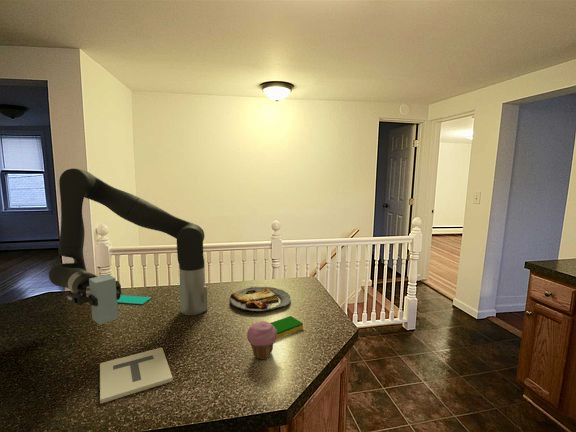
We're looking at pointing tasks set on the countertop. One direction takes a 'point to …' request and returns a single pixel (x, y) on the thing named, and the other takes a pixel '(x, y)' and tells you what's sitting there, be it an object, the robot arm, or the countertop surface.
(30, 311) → the countertop surface
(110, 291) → the grey rectangular block
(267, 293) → the food plate
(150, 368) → the board
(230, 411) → the countertop surface
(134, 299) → the smartphone
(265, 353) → the cupcake
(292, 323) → the dish sponge
